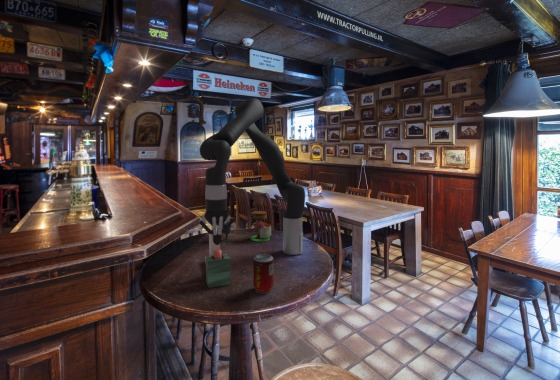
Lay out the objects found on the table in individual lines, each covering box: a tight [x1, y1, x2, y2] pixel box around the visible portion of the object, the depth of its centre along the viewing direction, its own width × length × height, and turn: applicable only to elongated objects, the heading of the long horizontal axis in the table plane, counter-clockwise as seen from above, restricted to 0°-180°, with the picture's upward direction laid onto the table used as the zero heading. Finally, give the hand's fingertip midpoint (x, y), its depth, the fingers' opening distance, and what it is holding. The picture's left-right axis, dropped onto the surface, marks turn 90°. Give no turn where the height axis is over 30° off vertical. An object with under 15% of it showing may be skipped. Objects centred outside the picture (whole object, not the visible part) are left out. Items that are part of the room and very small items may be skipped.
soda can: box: [252, 253, 274, 294], centre depth 105 cm, size 7×7×12 cm
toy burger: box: [250, 210, 272, 243], centre depth 164 cm, size 12×13×15 cm
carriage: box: [208, 233, 221, 256], centre depth 115 cm, size 6×5×17 cm
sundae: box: [221, 212, 232, 243], centre depth 162 cm, size 7×7×15 cm
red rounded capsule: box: [214, 248, 223, 260], centre depth 109 cm, size 3×3×5 cm
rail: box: [204, 253, 232, 289], centre depth 119 cm, size 26×8×10 cm, turn 22°
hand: (217, 244), depth 109 cm, fingers closed
